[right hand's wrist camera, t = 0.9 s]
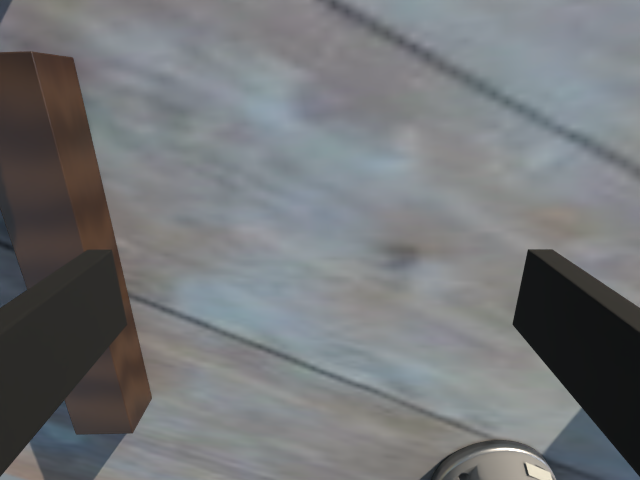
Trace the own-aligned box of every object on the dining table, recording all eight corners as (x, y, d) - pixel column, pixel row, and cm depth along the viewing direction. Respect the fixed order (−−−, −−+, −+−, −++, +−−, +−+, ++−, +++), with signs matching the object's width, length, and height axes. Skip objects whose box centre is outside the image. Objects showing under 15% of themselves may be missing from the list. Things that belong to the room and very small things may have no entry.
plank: (152, 398, 45) (132, 433, 40) (101, 399, 45) (75, 434, 40) (73, 57, 32) (31, 51, 27) (1, 59, 32) (-53, 53, 27)
